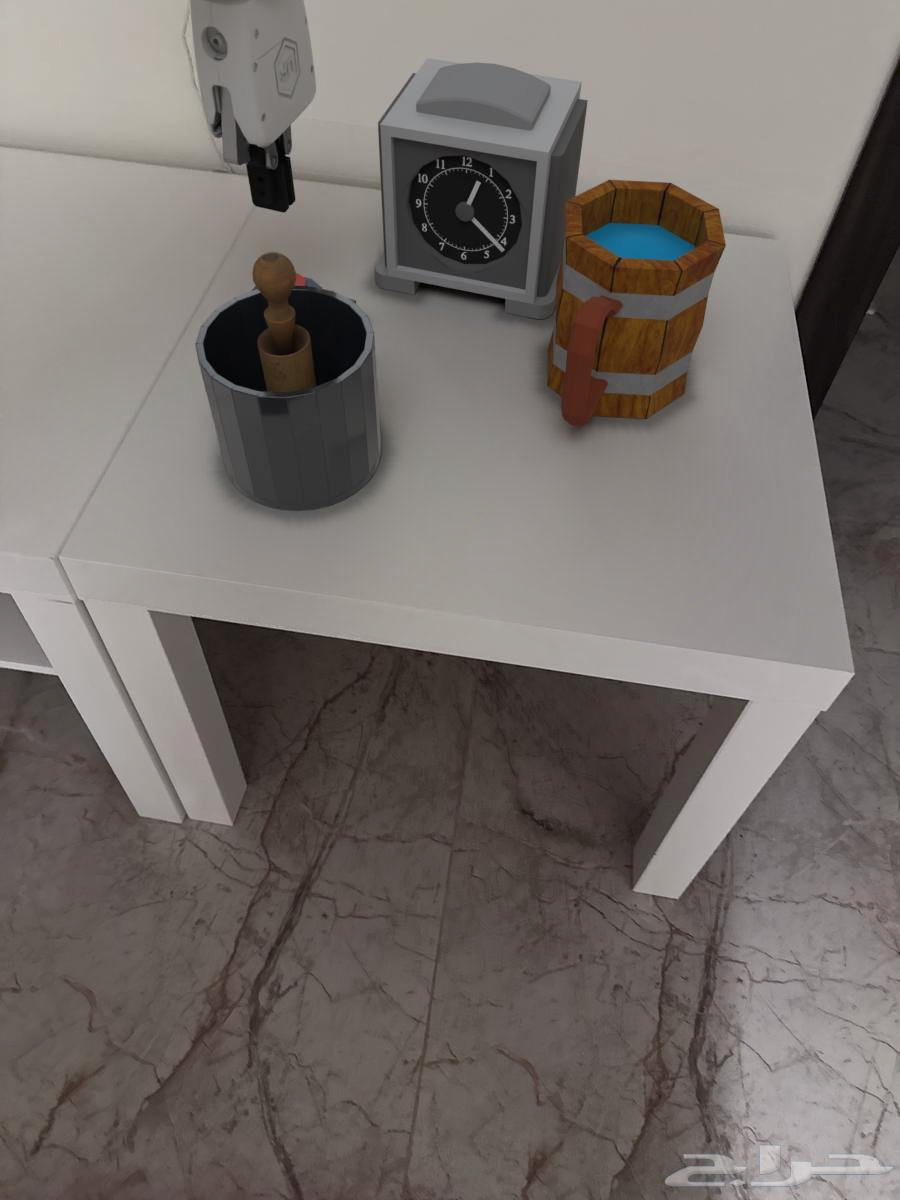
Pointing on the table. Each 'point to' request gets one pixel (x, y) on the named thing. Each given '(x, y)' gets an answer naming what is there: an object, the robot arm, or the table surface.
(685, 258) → the mug
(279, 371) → the mortar and pestle
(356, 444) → the grey open cylinder
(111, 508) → the table surface
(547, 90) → the alarm clock
